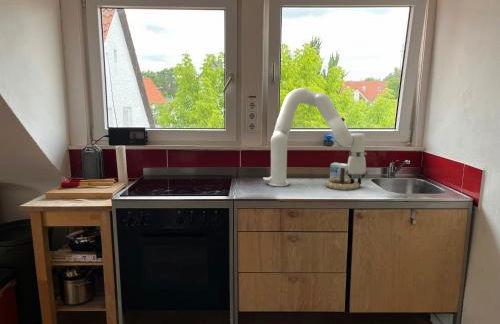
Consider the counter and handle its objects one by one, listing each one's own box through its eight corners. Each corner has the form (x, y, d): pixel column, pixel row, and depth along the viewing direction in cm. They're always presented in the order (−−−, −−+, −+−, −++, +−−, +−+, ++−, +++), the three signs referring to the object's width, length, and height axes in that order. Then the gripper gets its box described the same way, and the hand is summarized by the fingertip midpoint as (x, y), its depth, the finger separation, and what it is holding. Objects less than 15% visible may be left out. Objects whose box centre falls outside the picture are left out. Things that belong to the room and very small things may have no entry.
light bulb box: (329, 180, 219) (330, 163, 217) (333, 178, 224) (334, 162, 223) (345, 182, 213) (346, 165, 211) (349, 180, 218) (350, 163, 217)
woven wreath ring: (328, 190, 194) (329, 184, 193) (322, 182, 213) (322, 177, 213) (363, 190, 194) (363, 185, 193) (353, 182, 213) (353, 177, 213)
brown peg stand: (337, 187, 200) (338, 168, 198) (334, 185, 207) (335, 166, 205) (349, 187, 200) (350, 168, 198) (346, 185, 207) (347, 166, 205)
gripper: (369, 153, 204) (367, 183, 207) (341, 153, 204) (340, 183, 207) (373, 155, 196) (371, 187, 200) (344, 155, 197) (343, 186, 200)
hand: (355, 185), depth 203 cm, fingers closed on woven wreath ring, 3 cm apart
